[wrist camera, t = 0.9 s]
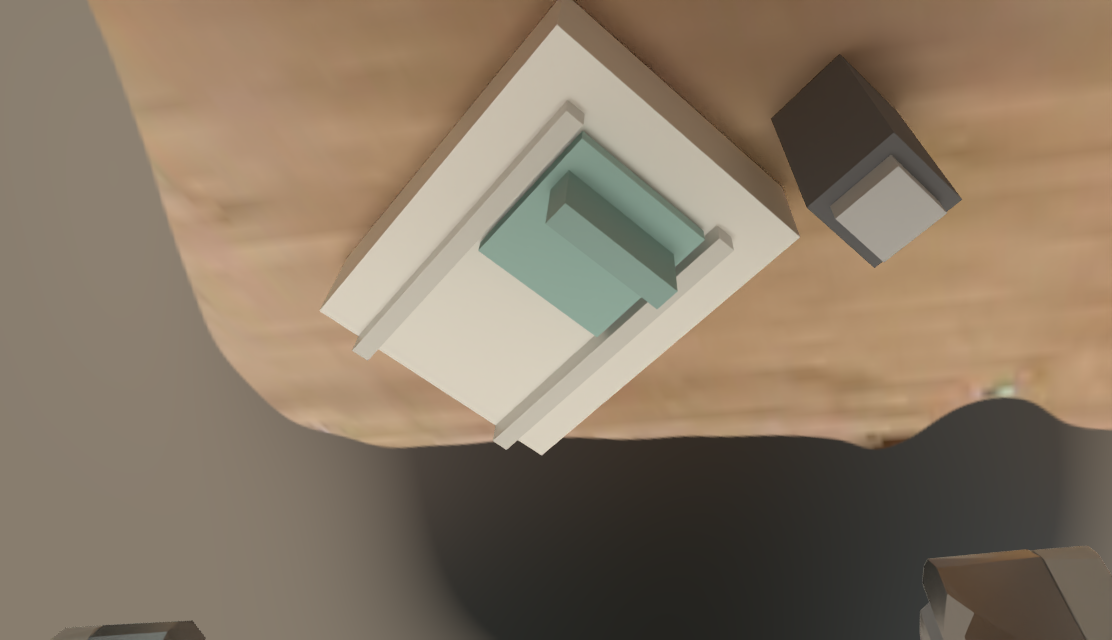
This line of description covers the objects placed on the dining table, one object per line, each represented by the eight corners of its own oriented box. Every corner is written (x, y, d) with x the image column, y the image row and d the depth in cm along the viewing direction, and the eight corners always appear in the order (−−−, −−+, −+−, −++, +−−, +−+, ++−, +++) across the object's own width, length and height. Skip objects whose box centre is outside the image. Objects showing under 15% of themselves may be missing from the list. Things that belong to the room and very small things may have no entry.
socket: (563, -8, 37) (555, 33, 32) (782, 187, 41) (805, 250, 36) (346, 258, 45) (312, 324, 40) (547, 395, 50) (539, 471, 45)
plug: (839, 54, 38) (901, 143, 29) (896, 111, 39) (971, 211, 31) (771, 118, 39) (811, 219, 31) (827, 171, 41) (881, 281, 33)
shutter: (582, 130, 35) (579, 169, 32) (703, 230, 37) (711, 276, 34) (480, 241, 38) (468, 287, 35) (597, 327, 40) (595, 377, 37)
